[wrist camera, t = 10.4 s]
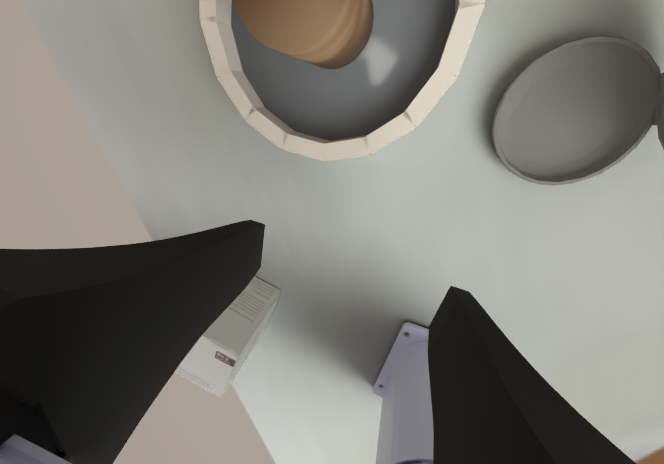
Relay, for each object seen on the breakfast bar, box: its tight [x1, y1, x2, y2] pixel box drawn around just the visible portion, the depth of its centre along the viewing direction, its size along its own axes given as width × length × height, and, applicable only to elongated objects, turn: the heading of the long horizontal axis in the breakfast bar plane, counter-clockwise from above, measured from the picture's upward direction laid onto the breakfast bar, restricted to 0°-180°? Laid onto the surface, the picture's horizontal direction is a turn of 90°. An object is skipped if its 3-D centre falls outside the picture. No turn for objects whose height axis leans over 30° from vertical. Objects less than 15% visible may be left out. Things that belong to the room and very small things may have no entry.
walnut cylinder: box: [233, 0, 374, 69], centre depth 12 cm, size 4×4×6 cm
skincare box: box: [175, 277, 281, 398], centre depth 23 cm, size 6×6×7 cm
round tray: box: [199, 0, 485, 161], centre depth 14 cm, size 14×14×2 cm
